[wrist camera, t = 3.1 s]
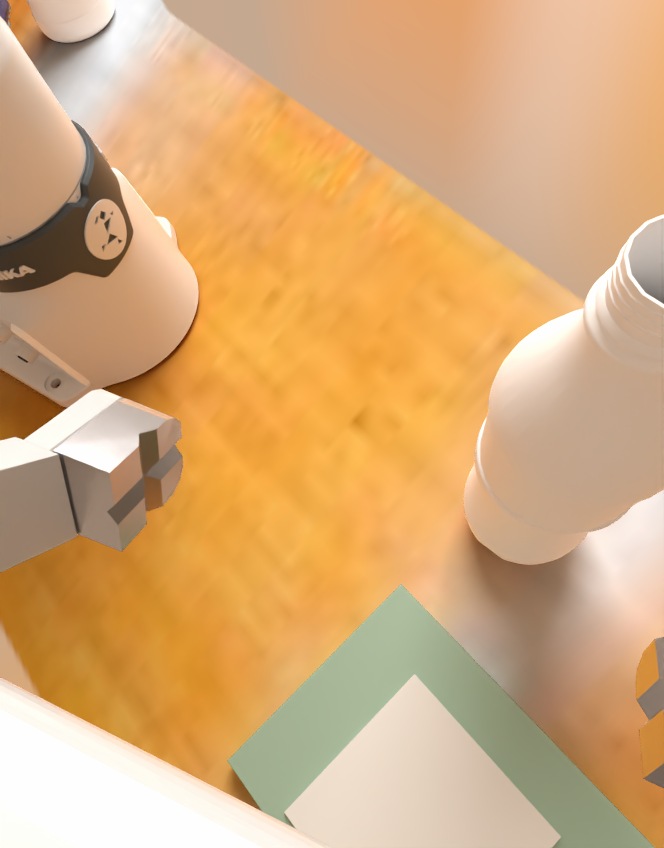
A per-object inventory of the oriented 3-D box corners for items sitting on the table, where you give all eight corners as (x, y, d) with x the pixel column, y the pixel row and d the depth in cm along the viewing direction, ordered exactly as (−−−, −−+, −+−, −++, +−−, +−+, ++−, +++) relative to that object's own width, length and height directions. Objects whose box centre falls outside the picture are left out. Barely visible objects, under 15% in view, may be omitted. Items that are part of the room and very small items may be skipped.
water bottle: (507, 593, 33) (690, 472, 11) (438, 497, 36) (466, 241, 13) (601, 530, 34) (970, 285, 11) (526, 441, 37) (697, 101, 14)
